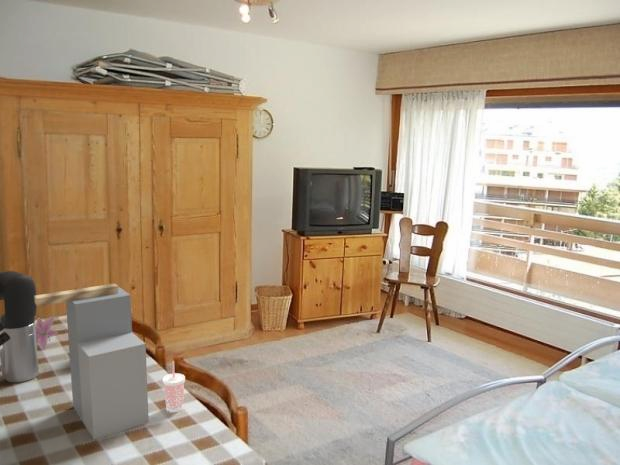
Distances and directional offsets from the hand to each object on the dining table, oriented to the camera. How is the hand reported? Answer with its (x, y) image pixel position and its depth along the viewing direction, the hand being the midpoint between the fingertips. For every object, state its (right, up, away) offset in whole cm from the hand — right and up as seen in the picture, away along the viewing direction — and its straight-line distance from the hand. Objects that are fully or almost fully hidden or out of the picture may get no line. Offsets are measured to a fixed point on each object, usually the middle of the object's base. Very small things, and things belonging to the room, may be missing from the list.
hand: (5, 329), depth 130 cm
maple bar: (+14, +7, +9) cm, 18 cm away
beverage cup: (+37, -25, +18) cm, 48 cm away
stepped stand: (+20, -26, +14) cm, 36 cm away
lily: (-22, -17, +61) cm, 67 cm away
